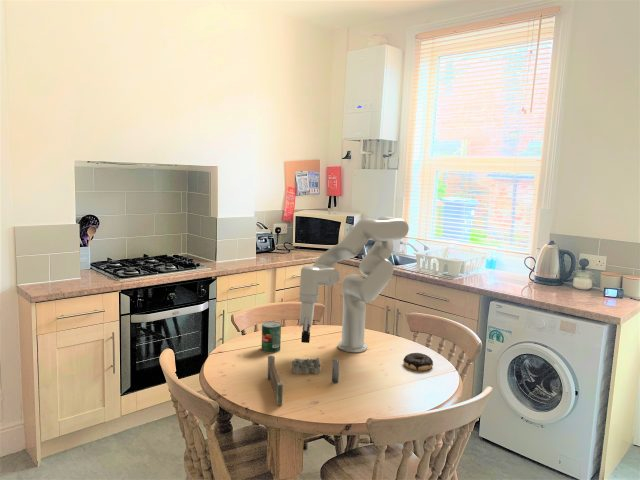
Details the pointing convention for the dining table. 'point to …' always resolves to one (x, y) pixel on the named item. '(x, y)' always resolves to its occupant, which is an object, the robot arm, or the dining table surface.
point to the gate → (276, 383)
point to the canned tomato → (271, 336)
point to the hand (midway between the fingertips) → (305, 341)
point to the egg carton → (306, 366)
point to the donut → (418, 361)
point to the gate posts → (334, 368)
